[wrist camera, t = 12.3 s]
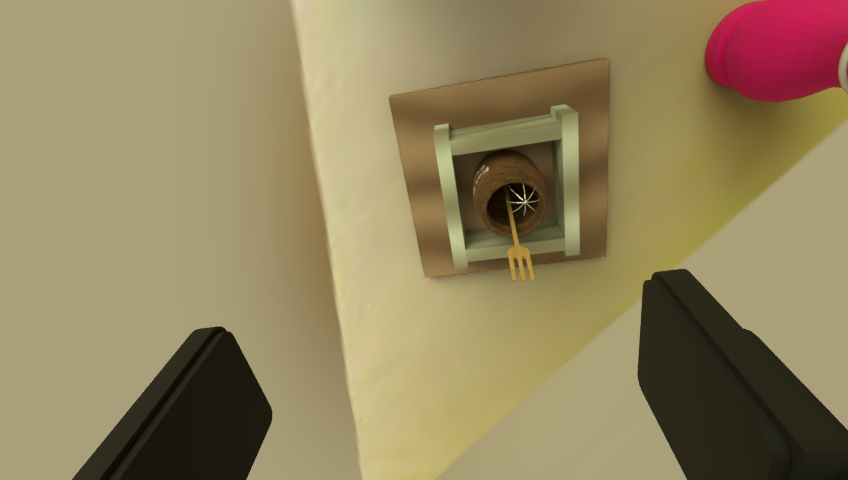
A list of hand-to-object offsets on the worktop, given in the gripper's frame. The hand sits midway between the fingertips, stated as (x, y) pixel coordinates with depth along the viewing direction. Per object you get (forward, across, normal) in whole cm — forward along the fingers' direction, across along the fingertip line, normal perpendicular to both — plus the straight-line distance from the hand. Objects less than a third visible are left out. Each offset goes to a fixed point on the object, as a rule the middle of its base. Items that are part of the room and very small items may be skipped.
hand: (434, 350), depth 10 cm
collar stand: (+31, -4, +8) cm, 32 cm away
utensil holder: (+29, -4, +7) cm, 30 cm away
